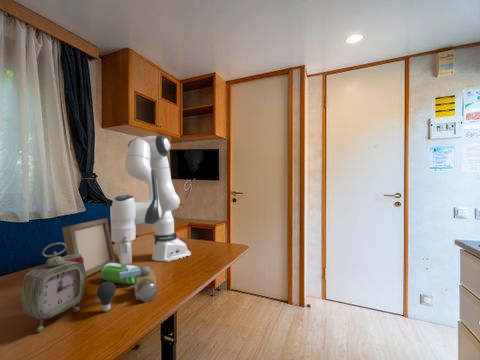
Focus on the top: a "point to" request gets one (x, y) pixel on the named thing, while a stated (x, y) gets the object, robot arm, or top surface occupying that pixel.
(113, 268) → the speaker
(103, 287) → the light bulb
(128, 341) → the top surface
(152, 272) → the valve
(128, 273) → the lever
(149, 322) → the top surface
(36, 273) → the tabletop clock
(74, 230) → the photo frame
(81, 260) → the soda can
